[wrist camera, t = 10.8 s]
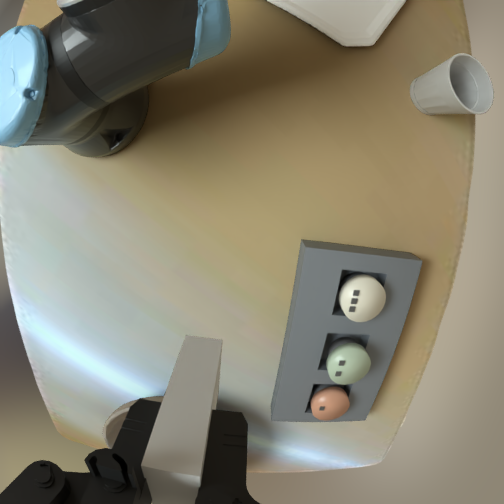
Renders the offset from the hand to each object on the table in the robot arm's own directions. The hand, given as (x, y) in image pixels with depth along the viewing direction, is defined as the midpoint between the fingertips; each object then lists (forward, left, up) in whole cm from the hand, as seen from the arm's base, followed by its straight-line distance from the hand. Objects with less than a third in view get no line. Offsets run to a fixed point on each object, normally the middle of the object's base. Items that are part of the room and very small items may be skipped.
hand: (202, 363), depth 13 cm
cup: (+26, +23, -33) cm, 48 cm away
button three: (+18, -8, -31) cm, 37 cm away
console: (+18, -18, -32) cm, 41 cm away
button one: (+18, -28, -31) cm, 45 cm away
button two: (+18, -18, -29) cm, 39 cm away
